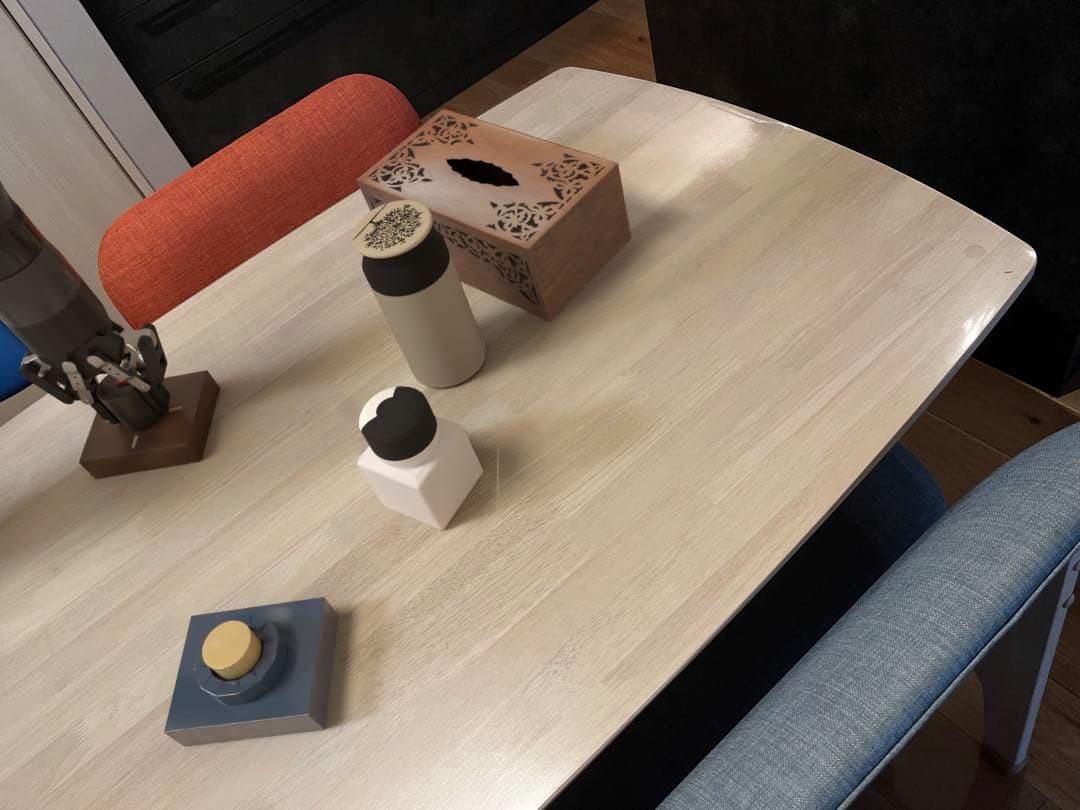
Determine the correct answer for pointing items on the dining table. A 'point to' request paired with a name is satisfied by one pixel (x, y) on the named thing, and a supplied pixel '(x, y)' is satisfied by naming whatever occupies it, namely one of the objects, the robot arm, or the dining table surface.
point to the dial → (126, 404)
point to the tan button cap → (232, 649)
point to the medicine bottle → (416, 457)
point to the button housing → (257, 676)
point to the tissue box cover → (508, 207)
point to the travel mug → (420, 292)
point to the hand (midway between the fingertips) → (141, 412)
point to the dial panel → (156, 432)
